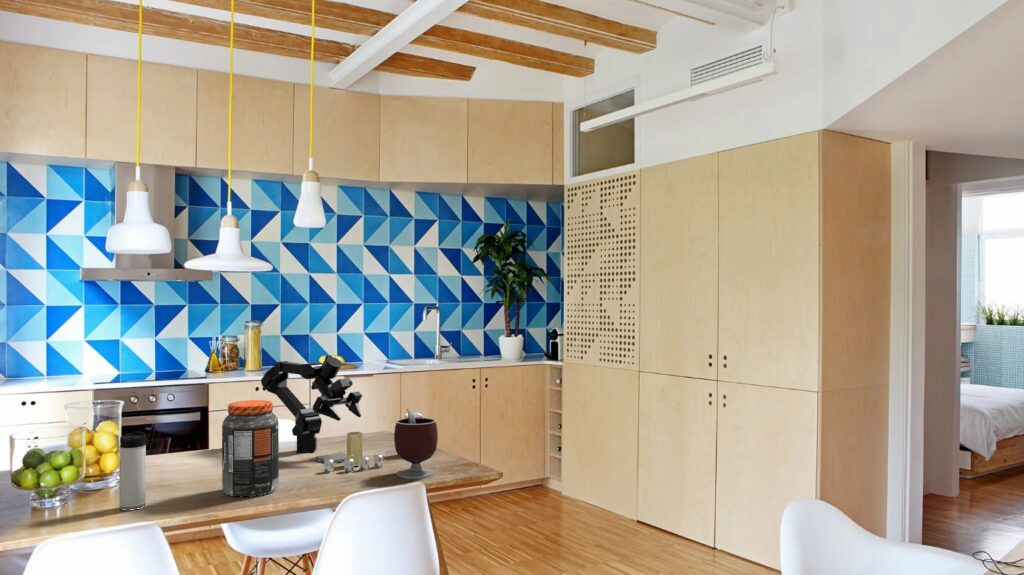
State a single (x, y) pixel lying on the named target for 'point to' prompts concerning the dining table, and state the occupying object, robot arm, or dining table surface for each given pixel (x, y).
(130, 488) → the travel mug
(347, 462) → the cylinder
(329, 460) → the cylinder
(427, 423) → the mate gourd
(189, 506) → the dining table surface
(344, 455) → the coaster
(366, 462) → the cylinder
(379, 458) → the cylinder
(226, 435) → the supplement tub
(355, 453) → the tan faceted block
